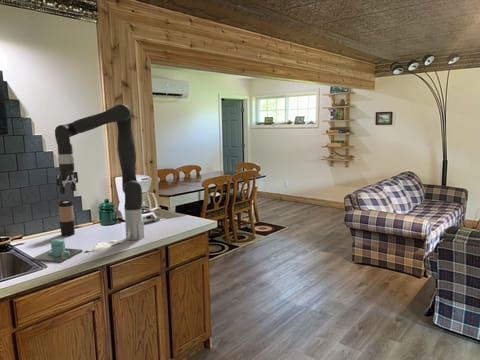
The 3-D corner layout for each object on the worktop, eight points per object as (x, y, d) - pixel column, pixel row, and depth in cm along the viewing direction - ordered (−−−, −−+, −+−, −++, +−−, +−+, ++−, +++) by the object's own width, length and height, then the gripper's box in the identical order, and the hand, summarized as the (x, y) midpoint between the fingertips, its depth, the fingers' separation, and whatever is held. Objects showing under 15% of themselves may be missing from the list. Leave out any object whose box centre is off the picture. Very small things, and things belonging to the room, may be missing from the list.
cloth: (122, 238, 207) (122, 234, 207) (134, 244, 197) (133, 240, 197) (75, 249, 190) (75, 245, 189) (85, 256, 180) (85, 251, 179)
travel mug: (61, 237, 208) (58, 203, 205) (60, 233, 215) (58, 200, 212) (75, 235, 212) (73, 202, 208) (74, 231, 218) (72, 199, 215)
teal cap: (71, 251, 181) (70, 238, 180) (66, 256, 175) (65, 242, 174) (51, 252, 181) (50, 238, 180) (45, 256, 175) (44, 242, 174)
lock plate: (82, 251, 184) (81, 241, 183) (60, 263, 169) (59, 251, 168) (55, 249, 188) (54, 239, 187) (31, 260, 172) (30, 249, 171)
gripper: (63, 164, 185) (65, 195, 187) (80, 161, 198) (83, 190, 201) (50, 163, 186) (53, 194, 189) (69, 161, 200) (71, 189, 202)
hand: (68, 192), depth 195 cm, fingers open, 8 cm apart
